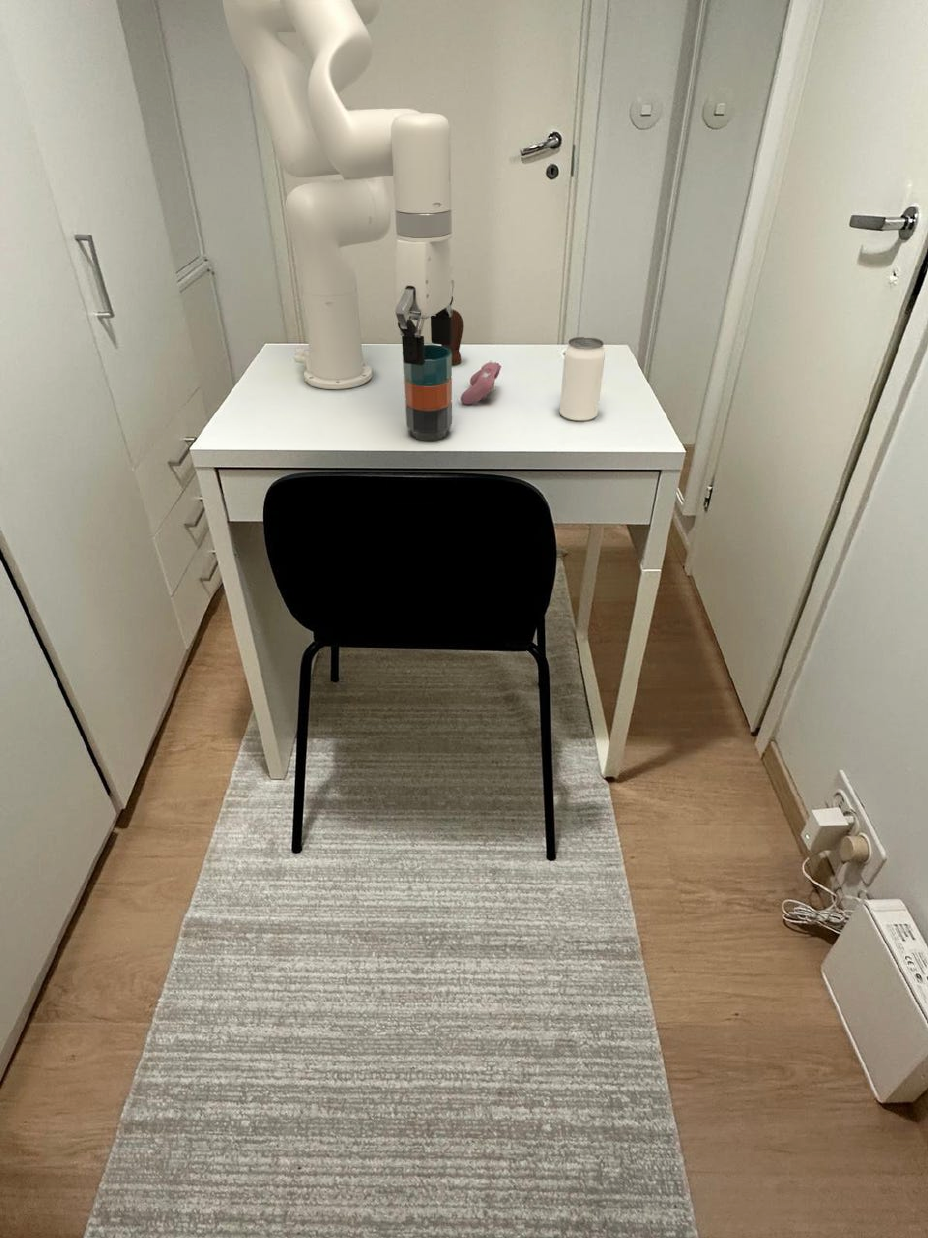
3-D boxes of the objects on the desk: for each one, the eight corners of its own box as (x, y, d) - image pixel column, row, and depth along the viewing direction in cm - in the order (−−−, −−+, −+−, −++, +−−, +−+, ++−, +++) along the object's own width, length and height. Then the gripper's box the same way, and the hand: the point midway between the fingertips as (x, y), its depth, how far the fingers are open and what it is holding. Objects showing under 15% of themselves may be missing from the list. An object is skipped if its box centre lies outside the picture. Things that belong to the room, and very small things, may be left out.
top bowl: (396, 392, 110) (394, 356, 107) (416, 376, 115) (415, 341, 112) (439, 399, 108) (439, 363, 105) (458, 383, 113) (458, 348, 110)
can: (573, 424, 119) (580, 351, 112) (551, 410, 124) (557, 339, 116) (605, 417, 122) (614, 345, 114) (583, 404, 126) (591, 333, 119)
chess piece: (443, 356, 145) (442, 304, 139) (467, 360, 144) (467, 307, 137) (434, 364, 142) (433, 310, 135) (458, 367, 140) (458, 313, 134)
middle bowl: (397, 416, 113) (396, 381, 109) (417, 399, 118) (416, 366, 114) (440, 423, 111) (439, 388, 107) (458, 406, 116) (458, 372, 112)
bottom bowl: (399, 438, 115) (397, 406, 112) (418, 421, 120) (417, 389, 117) (440, 446, 113) (440, 413, 110) (458, 429, 118) (458, 396, 115)
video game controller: (480, 415, 126) (499, 381, 122) (457, 402, 125) (476, 367, 121) (490, 394, 134) (508, 361, 129) (468, 381, 133) (486, 348, 129)
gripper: (425, 212, 105) (429, 334, 116) (368, 234, 93) (379, 368, 103) (473, 216, 103) (473, 339, 113) (421, 238, 90) (426, 375, 101)
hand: (428, 353), depth 108 cm, fingers open, 9 cm apart
